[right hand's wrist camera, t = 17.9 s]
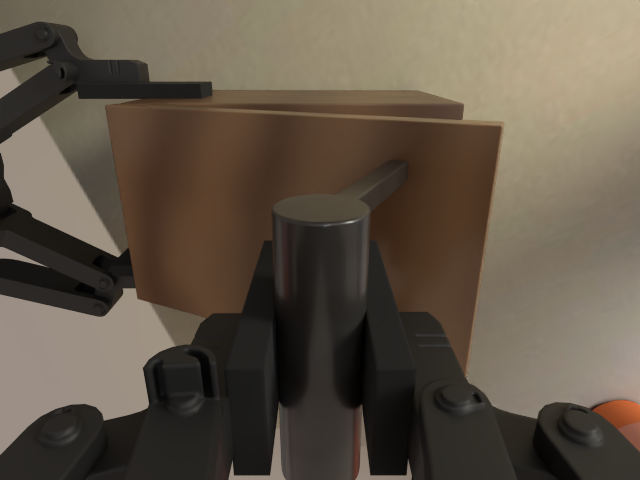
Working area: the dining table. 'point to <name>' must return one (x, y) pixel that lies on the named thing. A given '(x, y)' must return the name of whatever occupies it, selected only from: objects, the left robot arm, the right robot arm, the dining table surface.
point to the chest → (325, 102)
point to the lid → (308, 238)
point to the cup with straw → (623, 418)
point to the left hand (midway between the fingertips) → (214, 181)
